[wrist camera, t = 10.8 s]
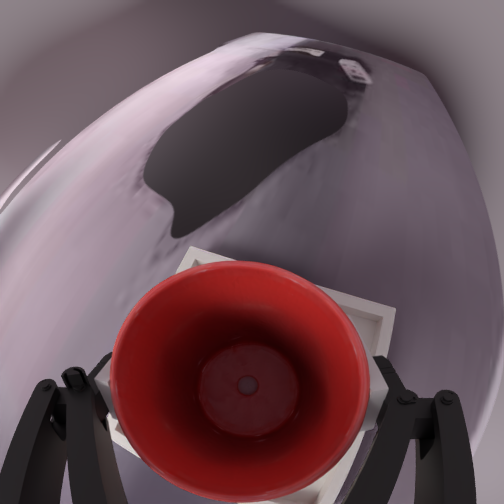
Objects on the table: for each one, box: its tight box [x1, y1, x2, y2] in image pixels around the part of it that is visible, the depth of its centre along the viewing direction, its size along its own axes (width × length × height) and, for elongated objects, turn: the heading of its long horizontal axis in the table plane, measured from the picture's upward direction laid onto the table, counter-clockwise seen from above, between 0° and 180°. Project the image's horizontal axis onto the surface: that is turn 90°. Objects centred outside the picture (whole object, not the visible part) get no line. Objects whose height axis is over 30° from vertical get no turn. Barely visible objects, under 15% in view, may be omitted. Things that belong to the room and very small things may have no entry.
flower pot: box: [110, 261, 370, 503], centre depth 13 cm, size 11×11×10 cm
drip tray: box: [107, 246, 396, 504], centre depth 18 cm, size 18×18×2 cm
